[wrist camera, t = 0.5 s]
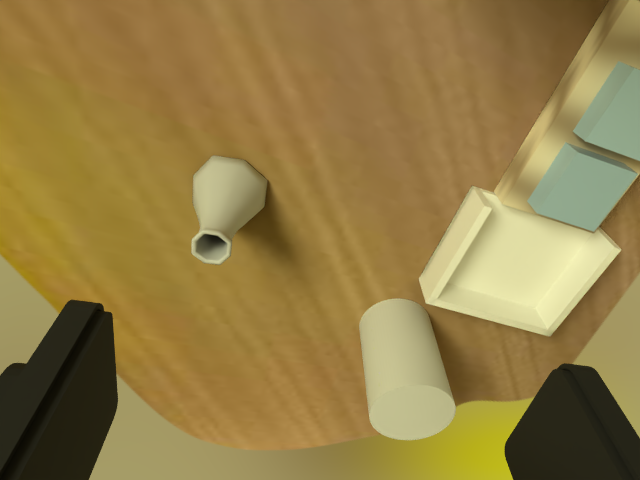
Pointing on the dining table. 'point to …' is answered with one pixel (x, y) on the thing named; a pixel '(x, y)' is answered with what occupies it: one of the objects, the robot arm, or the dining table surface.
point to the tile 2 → (615, 113)
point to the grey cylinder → (404, 371)
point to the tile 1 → (581, 187)
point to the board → (575, 105)
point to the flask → (224, 205)
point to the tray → (513, 265)
